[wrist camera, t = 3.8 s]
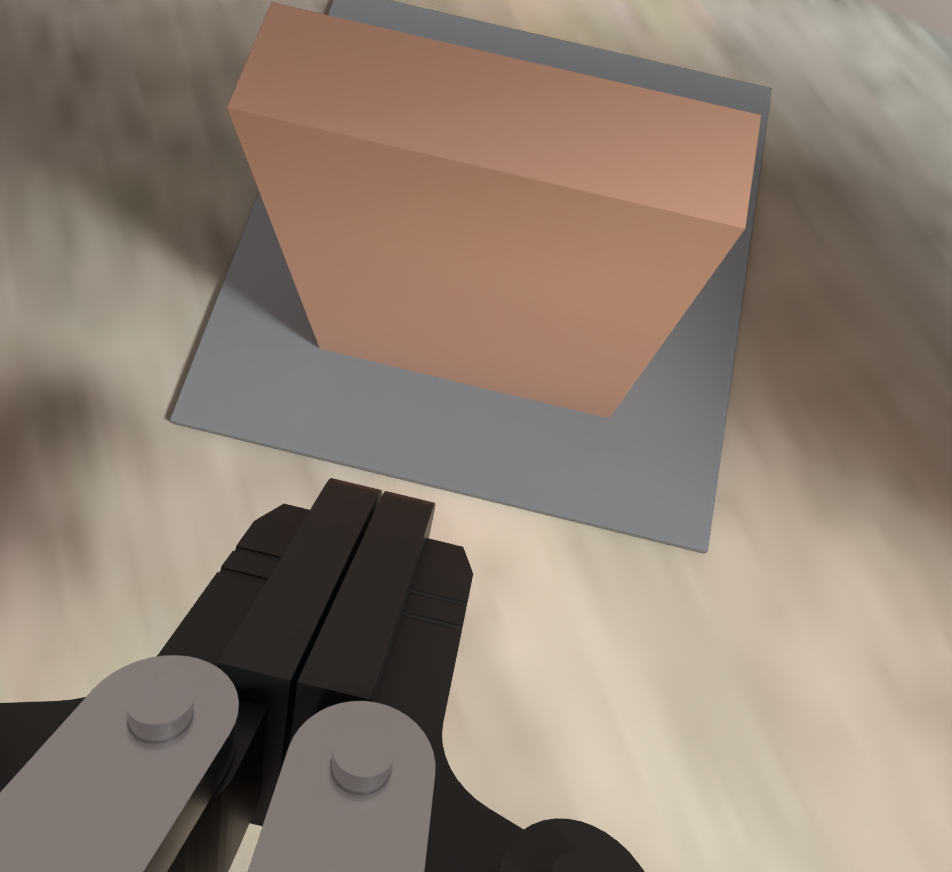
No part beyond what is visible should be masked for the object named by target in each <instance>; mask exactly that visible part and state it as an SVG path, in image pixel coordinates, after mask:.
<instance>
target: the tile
mask: <svg viewBox="0 0 952 872" xmlns="http://www.w3.org/2000/svg"><path fill="white" fill-rule="evenodd" d="M227 109H228V111H229V114H230V116H231V119H232V122H233V124H234V127H235V129H236V132H237V135H238V137H239V140H240V142H241V145H242V148H243V150H244V153H245V155H246V158H247V161H248V163H249V166H250V168H251V171H252V174H253V176H254V179H255V181H256V184H257V187H258V189H259V192H260V194H261V197H262V200H263V202H264V205H265V207H266V210H267V213H268V215H269V218H270V220H271V223H272V226H273V228H274V231H275V233H276V236H277V239H278V241H279V244H280V246H281V249H282V252H283V254H284V257H285V259H286V262H287V265H288V267H289V270H290V272H291V275H292V278H293V280H294V283H295V285H296V288H297V291H298V293H299V296H300V298H301V301H302V304H303V306H304V309H305V311H306V314H307V317H308V319H309V322H310V324H311V327H312V330H313V332H314V335H315V337H316V340H317V343H318V345H319V348H320V349H323V350H327V351H331V352H335V353H339V354H343V355H348V356H352V357H356V358H360V359H364V360H368V361H372V362H377V363H381V364H385V365H389V366H393V367H397V368H401V369H406V370H410V371H414V372H418V373H422V374H426V375H431V376H435V377H439V378H443V379H447V380H451V381H455V382H460V383H464V384H468V385H472V386H476V387H480V388H484V389H489V390H493V391H497V392H501V393H505V394H509V395H514V396H518V397H522V398H526V399H530V400H534V401H538V402H543V403H547V404H551V405H555V406H559V407H563V408H567V409H572V410H576V411H580V412H584V413H588V414H592V415H597V416H601V417H605V418H610V416H611V415H612V414H613V412H614V411H615V409H616V408H617V407H618V405H619V404H620V402H621V401H622V400H623V398H624V397H625V396H626V394H627V393H628V391H629V390H630V389H631V387H632V386H633V384H634V383H635V382H636V380H637V379H638V377H639V376H640V375H641V373H642V372H643V370H644V369H645V368H646V366H647V365H648V363H649V362H650V361H651V359H652V358H653V356H654V355H655V354H656V352H657V351H658V350H659V348H660V347H661V345H662V344H663V343H664V341H665V340H666V338H667V337H668V336H669V334H670V333H671V331H672V330H673V329H674V327H675V326H676V324H677V323H678V322H679V320H680V319H681V317H682V316H683V315H684V313H685V312H686V310H687V309H688V308H689V306H690V305H691V304H692V302H693V301H694V299H695V298H696V297H697V295H698V294H699V292H700V291H701V290H702V288H703V287H704V285H705V284H706V283H707V281H708V280H709V278H710V277H711V276H712V274H713V273H714V271H715V270H716V269H717V267H718V266H719V264H720V263H721V262H722V260H723V259H724V258H725V256H726V255H727V253H728V252H729V251H730V249H731V248H732V246H733V245H734V244H735V242H736V241H737V239H738V238H739V237H740V235H741V234H742V232H743V231H744V230H745V226H746V219H747V212H748V205H749V198H750V191H751V184H752V177H753V170H754V163H755V156H756V149H757V142H758V135H759V127H760V120H761V115H758V114H754V113H750V112H745V111H741V110H737V109H732V108H728V107H724V106H719V105H715V104H711V103H706V102H702V101H698V100H693V99H689V98H685V97H680V96H676V95H672V94H667V93H663V92H659V91H654V90H650V89H646V88H641V87H637V86H633V85H628V84H624V83H620V82H615V81H611V80H607V79H602V78H598V77H594V76H589V75H585V74H581V73H576V72H572V71H568V70H563V69H559V68H555V67H550V66H546V65H542V64H537V63H533V62H529V61H524V60H520V59H516V58H511V57H507V56H503V55H498V54H494V53H490V52H485V51H481V50H477V49H472V48H468V47H464V46H459V45H455V44H451V43H446V42H442V41H438V40H433V39H429V38H425V37H420V36H416V35H412V34H407V33H403V32H399V31H394V30H390V29H386V28H381V27H377V26H373V25H368V24H364V23H360V22H355V21H351V20H347V19H342V18H338V17H334V16H329V15H325V14H320V13H316V12H312V11H307V10H303V9H299V8H294V7H290V6H286V5H281V4H277V3H273V2H272V3H271V5H270V7H269V10H268V12H267V14H266V17H265V19H264V21H263V24H262V26H261V28H260V31H259V33H258V36H257V38H256V40H255V43H254V45H253V47H252V50H251V52H250V54H249V57H248V59H247V61H246V64H245V66H244V68H243V71H242V73H241V76H240V78H239V80H238V83H237V85H236V87H235V90H234V92H233V94H232V97H231V99H230V101H229V104H228V106H227Z"/></svg>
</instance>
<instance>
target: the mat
mask: <svg viewBox="0 0 952 872" xmlns="http://www.w3.org/2000/svg"><path fill="white" fill-rule="evenodd" d="M328 15H329V16H334V17H338V18H342V19H347V20H351V21H355V22H360V23H364V24H368V25H373V26H377V27H381V28H386V29H390V30H394V31H399V32H403V33H407V34H412V35H416V36H420V37H425V38H429V39H433V40H438V41H442V42H446V43H451V44H455V45H459V46H464V47H468V48H472V49H477V50H481V51H485V52H490V53H494V54H498V55H503V56H507V57H511V58H516V59H520V60H524V61H529V62H533V63H537V64H542V65H546V66H550V67H555V68H559V69H563V70H568V71H572V72H576V73H581V74H585V75H589V76H594V77H598V78H602V79H607V80H611V81H615V82H620V83H624V84H628V85H633V86H637V87H641V88H646V89H650V90H654V91H659V92H663V93H667V94H672V95H676V96H680V97H685V98H689V99H693V100H698V101H702V102H706V103H711V104H715V105H719V106H724V107H728V108H732V109H737V110H741V111H745V112H750V113H754V114H758V115H761V120H760V127H759V135H758V142H757V149H756V156H755V163H754V170H753V177H752V184H751V191H750V198H749V205H748V212H747V219H746V226H745V230H744V231H743V232H742V234H741V235H740V237H739V238H738V239H737V241H736V242H735V244H734V245H733V246H732V248H731V249H730V251H729V252H728V253H727V255H726V256H725V258H724V259H723V260H722V262H721V263H720V264H719V266H718V267H717V269H716V270H715V271H714V273H713V274H712V276H711V277H710V278H709V280H708V281H707V283H706V284H705V285H704V287H703V288H702V290H701V291H700V292H699V294H698V295H697V297H696V298H695V299H694V301H693V302H692V304H691V305H690V306H689V308H688V309H687V310H686V312H685V313H684V315H683V316H682V317H681V319H680V320H679V322H678V323H677V324H676V326H675V327H674V329H673V330H672V331H671V333H670V334H669V336H668V337H667V338H666V340H665V341H664V343H663V344H662V345H661V347H660V348H659V350H658V351H657V352H656V354H655V355H654V356H653V358H652V359H651V361H650V362H649V363H648V365H647V366H646V368H645V369H644V370H643V372H642V373H641V375H640V376H639V377H638V379H637V380H636V382H635V383H634V384H633V386H632V387H631V389H630V390H629V391H628V393H627V394H626V396H625V397H624V398H623V400H622V401H621V402H620V404H619V405H618V407H617V408H616V409H615V411H614V412H613V414H612V415H611V416H610V418H605V417H601V416H597V415H592V414H588V413H584V412H580V411H576V410H572V409H567V408H563V407H559V406H555V405H551V404H547V403H543V402H538V401H534V400H530V399H526V398H522V397H518V396H514V395H509V394H505V393H501V392H497V391H493V390H489V389H484V388H480V387H476V386H472V385H468V384H464V383H460V382H455V381H451V380H447V379H443V378H439V377H435V376H431V375H426V374H422V373H418V372H414V371H410V370H406V369H401V368H397V367H393V366H389V365H385V364H381V363H377V362H372V361H368V360H364V359H360V358H356V357H352V356H348V355H343V354H339V353H335V352H331V351H327V350H323V349H320V348H319V345H318V343H317V340H316V337H315V335H314V332H313V330H312V327H311V324H310V322H309V319H308V317H307V314H306V311H305V309H304V306H303V304H302V301H301V298H300V296H299V293H298V291H297V288H296V285H295V283H294V280H293V278H292V275H291V272H290V270H289V267H288V265H287V262H286V259H285V257H284V254H283V252H282V249H281V246H280V244H279V241H278V239H277V236H276V233H275V231H274V228H273V226H272V223H271V220H270V218H269V215H268V213H267V210H266V207H265V205H264V202H263V200H262V197H261V194H260V192H259V193H258V196H257V198H256V201H255V203H254V206H253V209H252V211H251V214H250V216H249V219H248V221H247V224H246V226H245V229H244V232H243V234H242V237H241V239H240V242H239V244H238V247H237V250H236V252H235V255H234V257H233V260H232V262H231V265H230V267H229V270H228V273H227V275H226V278H225V280H224V283H223V285H222V288H221V291H220V293H219V296H218V298H217V301H216V303H215V306H214V308H213V311H212V314H211V316H210V319H209V321H208V324H207V326H206V329H205V332H204V334H203V337H202V339H201V342H200V344H199V347H198V349H197V352H196V355H195V357H194V360H193V362H192V365H191V367H190V370H189V373H188V375H187V378H186V380H185V383H184V385H183V388H182V390H181V393H180V396H179V398H178V401H177V403H176V406H175V408H174V411H173V414H172V416H171V419H170V421H171V422H172V423H173V424H176V425H180V426H184V427H189V428H193V429H197V430H201V431H205V432H209V433H213V434H217V435H221V436H225V437H229V438H234V439H238V440H242V441H246V442H250V443H254V444H258V445H262V446H266V447H270V448H274V449H279V450H283V451H287V452H291V453H295V454H299V455H303V456H307V457H311V458H315V459H319V460H324V461H328V462H332V463H336V464H340V465H344V466H348V467H352V468H356V469H360V470H364V471H369V472H373V473H377V474H381V475H385V476H389V477H393V478H397V479H401V480H405V481H409V482H414V483H418V484H422V485H426V486H430V487H434V488H438V489H442V490H446V491H450V492H455V493H459V494H463V495H467V496H471V497H475V498H479V499H483V500H487V501H491V502H495V503H500V504H504V505H508V506H512V507H516V508H520V509H524V510H528V511H532V512H536V513H540V514H545V515H549V516H553V517H557V518H561V519H565V520H569V521H573V522H577V523H581V524H585V525H590V526H594V527H598V528H602V529H606V530H610V531H614V532H618V533H622V534H626V535H630V536H635V537H639V538H643V539H647V540H651V541H655V542H659V543H663V544H667V545H671V546H675V547H680V548H684V549H688V550H692V551H696V552H700V553H706V552H708V545H709V538H710V531H711V524H712V516H713V509H714V502H715V495H716V487H717V480H718V473H719V466H720V458H721V451H722V444H723V437H724V430H725V422H726V415H727V408H728V401H729V393H730V386H731V379H732V372H733V364H734V357H735V350H736V343H737V335H738V328H739V321H740V314H741V306H742V299H743V292H744V285H745V277H746V270H747V263H748V256H749V248H750V241H751V234H752V227H753V220H754V212H755V205H756V198H757V191H758V183H759V176H760V169H761V162H762V154H763V147H764V140H765V133H766V125H767V118H768V111H769V104H770V96H771V89H772V88H768V87H764V86H760V85H755V84H751V83H747V82H742V81H738V80H734V79H729V78H725V77H721V76H716V75H712V74H708V73H703V72H699V71H694V70H690V69H686V68H681V67H677V66H673V65H668V64H664V63H660V62H655V61H651V60H647V59H642V58H638V57H634V56H629V55H625V54H620V53H616V52H612V51H607V50H603V49H599V48H594V47H590V46H586V45H581V44H577V43H573V42H568V41H564V40H560V39H555V38H551V37H546V36H542V35H538V34H533V33H529V32H525V31H520V30H516V29H512V28H507V27H503V26H499V25H494V24H490V23H486V22H481V21H477V20H472V19H468V18H464V17H459V16H455V15H451V14H446V13H442V12H438V11H433V10H429V9H425V8H420V7H416V6H412V5H407V4H403V3H398V2H394V1H390V0H334V1H333V3H332V6H331V9H330V11H329V14H328Z"/></svg>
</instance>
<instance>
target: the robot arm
mask: <svg viewBox="0 0 952 872" xmlns="http://www.w3.org/2000/svg"><path fill="white" fill-rule="evenodd" d="M434 510H435V503H433V502H429V501H425V500H421V499H417V498H413V497H408V496H404V495H400V494H396V493H392V492H388V491H385V492H384V493H383V495H382V490H379V489H374V488H370V487H366V486H362V485H358V484H354V483H350V482H346V481H341V480H337V479H333V478H331V479H329V480H328V482H327V483H326V485H325V486H324V488H323V490H322V491H321V493H320V494H319V496H318V498H317V499H316V501H315V503H314V504H313V506H312V508H311V509H310V510H308V509H304V508H300V507H296V506H292V505H287V504H282V505H281V506H279V507H277V508H276V509H274V510H272V511H270V512H269V513H267V514H265V515H264V516H262V517H260V518H259V519H257V520H255V521H254V522H253V523H252V525H251V526H250V527H249V529H248V530H247V532H246V533H245V534H244V536H243V537H242V539H241V540H240V541H239V543H238V544H237V546H236V549H235V551H232V553H231V554H230V555H229V557H228V558H227V560H226V561H225V562H224V564H223V565H222V566H221V570H220V572H217V573H216V575H215V576H214V578H213V579H212V580H211V582H210V583H209V585H208V586H207V587H206V589H205V590H204V592H203V593H202V594H201V596H200V597H199V599H198V600H197V601H196V603H195V604H194V605H193V607H192V608H191V610H190V611H189V612H188V614H187V615H186V617H185V618H184V619H183V621H182V622H181V624H180V625H179V626H178V628H177V629H176V631H175V632H174V633H173V635H172V636H171V637H170V639H169V640H168V642H167V643H166V644H165V646H164V647H163V649H162V650H161V651H160V653H159V654H158V655H157V657H152V658H148V659H144V660H140V661H137V662H134V663H132V664H129V665H127V666H125V667H123V668H121V669H119V670H117V671H115V672H114V673H112V674H111V675H109V676H108V677H107V678H105V679H104V680H102V681H101V682H100V683H99V684H98V685H97V686H96V687H95V688H94V689H93V690H92V691H91V692H90V693H89V695H88V696H87V697H83V698H78V699H73V700H63V701H45V702H17V703H0V872H228V871H229V869H230V867H231V864H232V862H233V860H234V858H235V855H236V853H237V851H238V848H239V846H240V844H241V841H242V839H243V837H244V834H245V832H246V830H247V828H248V825H249V823H251V824H255V825H259V826H263V827H262V830H261V833H260V836H259V839H258V842H257V845H256V848H255V851H254V854H253V857H252V860H251V863H250V866H249V869H248V872H644V870H643V869H642V867H641V866H640V865H639V863H638V862H637V861H636V860H635V858H634V857H633V856H632V855H631V854H630V852H629V851H628V850H627V849H626V848H624V847H623V846H622V845H621V844H620V843H619V842H618V841H617V840H615V839H614V838H613V837H611V836H610V835H609V834H607V833H606V832H604V831H602V830H600V829H598V828H596V827H594V826H592V825H589V824H587V823H584V822H581V821H576V820H571V819H549V820H543V821H540V822H538V823H535V824H532V825H531V826H529V827H527V828H526V829H524V830H523V829H522V828H520V827H519V826H517V825H515V824H514V823H512V822H510V821H509V820H507V819H505V818H504V817H502V816H501V815H499V814H497V813H496V812H494V811H492V810H491V809H489V808H488V807H486V806H485V805H483V804H482V803H481V802H479V801H478V800H476V799H475V798H474V797H473V796H472V795H471V794H470V793H469V792H468V791H467V790H466V789H465V788H464V787H463V786H462V785H461V783H460V782H459V781H458V780H457V778H456V777H455V775H454V773H453V772H452V770H451V768H450V766H449V764H448V761H447V759H446V757H445V752H444V748H443V742H442V729H443V721H444V716H445V711H446V706H447V701H448V696H449V692H450V687H451V682H452V677H453V672H454V667H455V662H456V657H457V652H458V647H459V642H460V637H461V632H462V627H463V622H464V617H465V612H466V607H467V602H468V597H469V592H470V587H471V583H472V578H473V572H472V570H471V567H470V564H469V561H468V559H467V556H466V553H465V551H464V548H463V547H461V546H457V545H453V544H449V543H445V542H441V541H437V540H433V539H429V534H430V530H431V525H432V520H433V515H434Z"/></svg>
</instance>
